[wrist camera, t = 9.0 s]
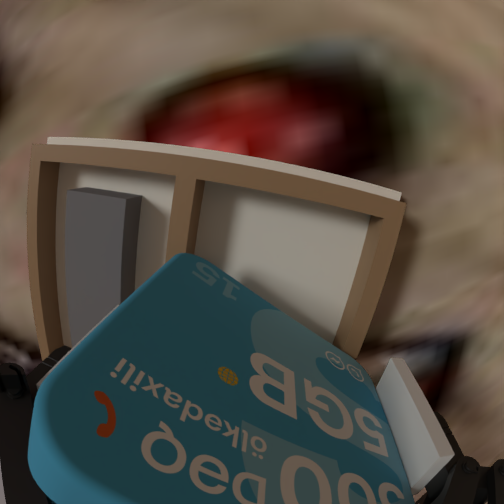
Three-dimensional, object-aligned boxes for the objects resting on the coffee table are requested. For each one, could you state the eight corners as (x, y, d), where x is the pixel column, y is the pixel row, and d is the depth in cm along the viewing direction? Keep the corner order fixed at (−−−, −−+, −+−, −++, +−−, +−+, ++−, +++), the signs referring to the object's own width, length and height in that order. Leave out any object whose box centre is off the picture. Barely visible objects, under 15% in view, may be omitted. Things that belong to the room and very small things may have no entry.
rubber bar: (88, 350, 19) (75, 365, 17) (86, 187, 16) (67, 189, 14) (134, 367, 19) (123, 383, 17) (142, 195, 16) (126, 199, 14)
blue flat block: (367, 365, 16) (431, 554, 4) (316, 411, 17) (331, 589, 5) (186, 243, 14) (-1, 420, 3) (145, 308, 16) (8, 479, 4)
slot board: (59, 358, 21) (42, 375, 18) (55, 137, 16) (28, 135, 13) (314, 425, 20) (317, 451, 18) (396, 191, 16) (417, 196, 13)
